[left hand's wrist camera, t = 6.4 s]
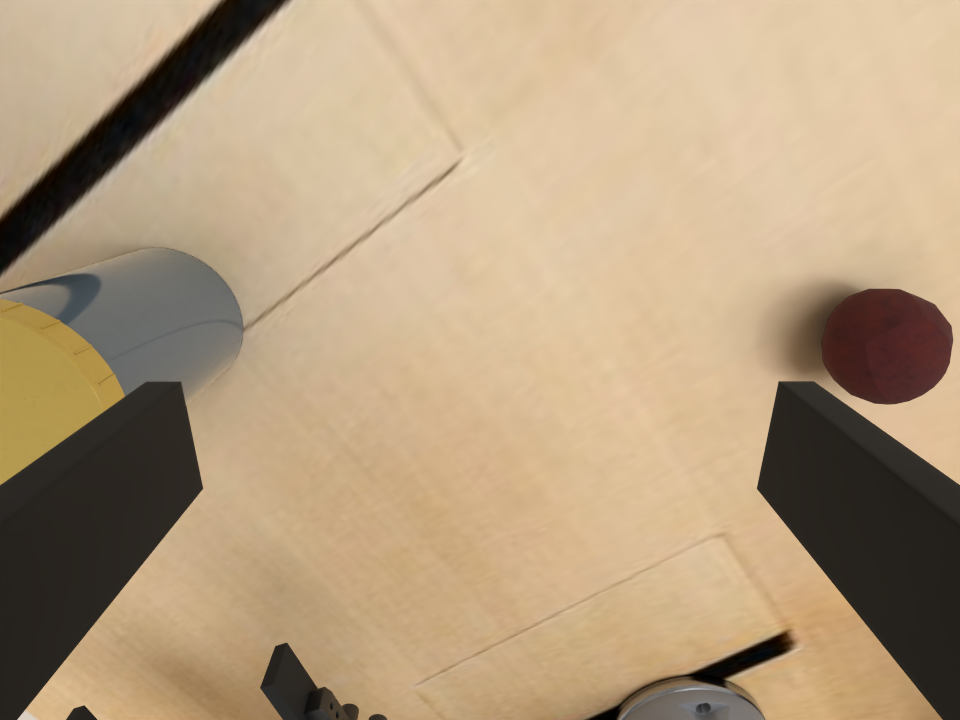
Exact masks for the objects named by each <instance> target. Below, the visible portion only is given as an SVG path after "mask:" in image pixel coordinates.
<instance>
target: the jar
mask: <svg viewBox="0 0 960 720" xmlns="http://www.w3.org/2000/svg"><path fill="white" fill-rule="evenodd" d="M0 299H4V300H9V301H13V302H16V303H20V302H21V303H23V304H24V305H26V306H29V307H32V308H34V309H37V310H40V311H42V312H44V313H46V314H48V315H49V316H51V317H53V318H55V319H57V320H58V319H59V320H60V322H62V323H63V324H65V325H66V326H68V327H70V328H71V329H72V330H74V331H75V332H76V333H77V334H79V335H80V336H81V337H82V338H84V339H85V340H86V341H87V342H88V343H89V344H91V345H92V347H93V348H94V349H95V350H96V351H97V352H98V353H99V354H100V356H101V357H102V358H103V359H104V360H105V362H106V363H107V364H108V366H109V367H110V369H111V370H112V372H113V373H114V374H115V375H116V378H117V380H118V382H119V384H120V386H121V388H122V390H123V392H124V395H125V396H127V395H128V394H129V393H131V392H132V391H134V390H135V389H136V388H138V387H139V386H141V385H142V384H143V383H145V382H181V383H182V388H183V393H184V398H185V403H186V406H187V405H188V404H189V403H190V402H191V401H192V400H193V399H195V398H196V397H197V396H198V395H199V394H200V393H201V392H202V391H204V390H205V389H206V388H207V387H208V386H209V385H210V384H211V383H213V382H214V381H215V380H216V379H217V378H218V377H219V376H220V375H222V374H223V373H224V372H225V371H226V370H227V369H228V368H229V367H230V366H231V365H232V363H233V362H234V360H235V359H236V357H237V355H238V353H239V351H240V347H241V344H242V339H243V321H242V315H241V311H240V308H239V305H238V303H237V300H236V298H235V296H234V295H233V293H232V291H231V289H230V288H229V287H228V285H227V284H226V282H225V281H224V280H223V279H222V278H221V277H220V276H219V275H218V274H217V273H216V272H215V271H214V270H213V269H212V268H210V267H209V266H208V265H206V264H205V263H203V262H202V261H200V260H198V259H197V258H195V257H193V256H191V255H188V254H186V253H183V252H180V251H176V250H173V249H166V248H147V249H141V250H137V251H133V252H130V253H127V254H124V255H120V256H117V257H114V258H111V259H107V260H104V261H101V262H98V263H94V264H91V265H88V266H85V267H81V268H78V269H75V270H72V271H68V272H65V273H62V274H59V275H55V276H52V277H49V278H46V279H42V280H39V281H36V282H33V283H30V284H26V285H23V286H20V287H17V288H13V289H10V290H7V291H4V292H0Z"/></svg>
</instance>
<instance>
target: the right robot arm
mask: <svg viewBox="0 0 960 720" xmlns="http://www.w3.org/2000/svg"><path fill="white" fill-rule="evenodd" d="M260 688H261V690H262V691H263V692H264V694H265V695H266V697H267V698H268V699H269V701H270V702H271V704H272V705H273V706H274V708H275V709H276V710H277V712H278V713H279V715H280V716H281V717H282V719H283V720H357V719H358V713H359V709H358V707H357V706H356V705H353V704H345V705H343V706H342V707H341V705H340V704H339V703H338V701H337V699H335V696H334V695H333V693H332V692H331V691H330V690H328V689H327V688H326V687H323V688H319V689H318V688H317V687H316V685H315V684H314V682H313V681H312V679H311V678H310V676H309V675H308V673H307V672H306V670H305V669H304V667H303V666H302V664H301V663H300V661H299V660H298V658H297V657H296V655H295V654H294V652H293V651H292V649H291V648H290V646H289V645H288V643H284V644H281V645H278V646H275V649H274V652H273V654H272V657H271V660H270V663H269V665H268V668H267V671H266V674H265V676H264V679H263V682H262V685H261V687H260ZM66 720H97V719H96V718H95V717H94V715H93V714H92V713H91V712H90V711H89V710H88V709H87V708H86V707H85V705H84V706H81V707H78V708H74V709H73V710H72V712H71V713H70V715H69V716H68V718H67V719H66ZM369 720H387V718H386V717H385V716H383V715H380V714H375V715H372V716H371V717H370V718H369ZM611 720H765V718H764V716H763V714H762V712H761V710H760V708H759V706H758V704H757V703H756V701H755V700H754V699H753V697H751V696H750V695H749V694H748V693H747V692H746V691H745V690H743V689H742V688H740V687H738V686H736V685H734V684H732V683H730V682H727V681H724V680H720V679H716V678H711V677H701V676H689V677H679V678H673V679H668V680H664V681H661V682H658V683H655V684H653V685H650V686H648V687H646V688H644V689H642V690H640V691H639V692H637V693H635V694H634V695H633V696H631V697H630V698H629V699H627V700H626V701H625V702H624V703H623V704H622V705H621V706H620V707H619V708H618V710H617V711H616V712H615V714H614V716H613V717H612V719H611Z"/></svg>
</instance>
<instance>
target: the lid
mask: <svg viewBox="0 0 960 720" xmlns="http://www.w3.org/2000/svg"><path fill="white" fill-rule="evenodd" d="M124 397H125V395H124V392H123V390H122V388H121V386H120V384H119V382H118V380H117V378H116V375H115V374H114V373H113V372H112V370H111V369H110V367H109V366H108V364H107V363H106V362H105V360H104V359H103V358H102V357H101V356H100V354H99V353H98V352H97V351H96V350H95V349H94V348H93V347H92V345H91V344H89V343H88V342H87V341H86V340H85V339H84V338H82V337H81V336H80V335H79V334H77V333H76V332H75V331H74V330H72V329H71V328H70V327H68V326H66V325H65V324H63V323H62V322H60V320H59V319H58V320H57V319H55V318H53V317H51V316H49V315H48V314H46V313H44V312H42V311H40V310H37V309H34V308H32V307H29V306H26V305H24V304H23V303H21V302H20V303H16V302H13V301H9V300H4V299H0V485H1V484H3V483H4V482H5V481H7V480H8V479H10V478H11V477H12V476H14V475H15V474H17V473H18V472H20V471H21V470H22V469H24V468H25V467H27V466H28V465H29V464H31V463H32V462H34V461H35V460H36V459H38V458H39V457H41V456H42V455H43V454H45V453H46V452H48V451H49V450H51V449H52V448H53V447H55V446H56V445H58V444H59V443H60V442H62V441H63V440H65V439H66V438H67V437H69V436H70V435H72V434H73V433H74V432H76V431H77V430H79V429H80V428H81V427H83V426H84V425H86V424H87V423H89V422H90V421H91V420H93V419H94V418H96V417H97V416H98V415H100V414H101V413H103V412H104V411H105V410H107V409H108V408H110V407H111V406H112V405H114V404H115V403H117V402H118V401H120V400H121V399H122V398H124Z"/></svg>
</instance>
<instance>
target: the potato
mask: <svg viewBox="0 0 960 720" xmlns="http://www.w3.org/2000/svg"><path fill="white" fill-rule="evenodd" d="M821 344H822V357H823V362H824V364H825V367H826V368H827V370H828V372H829V373H830V375H831V376H832V378H833V379H834V380H835V381H836V382H837V383H838V384H839V385H840V386H841V387H842V388H844V389H845V390H846V391H847V392H848V393H850V394H851V395H853V396H856V397H859V398H861V399H864V400H867V401H869V402H872V403H875V404H898V403H902V402H907V401H910V400H912V399H915V398H917V397H919V396H922V395H923V394H925V393H926V392H928V391H929V390H931V389H932V388H933V387H934V386H935V385H936V384H937V383H938V382H939V381H940V380H941V379H942V377H943V376H944V374H945V373H946V371H947V368H948V366H949V363H950V357H951V350H952V344H953V335H952V327H951V325H950V324H949V322H948V321H947V320H946V318H945V317H944V316H943V314H942V313H941V312H940V310H939V309H938V308H937V307H936V305H935V304H933V303H931V302H929V301H926V300H924V299H922V298H920V297H918V296H915V295H913V294H910V293H908V292H905V291H903V290H900V289H868V290H865V291H862V292H859V293H856V294H854V295H851V296H849V297H847V298H846V299H845V300H844V301H843V302H841V303H840V304H839V305H838V306H837V307H836V308H835V309H834V311H833V312H832V314H831V315H830V317H829V318H828V321H827V324H826V328H825V331H824V335H823V338H822V342H821Z"/></svg>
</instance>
